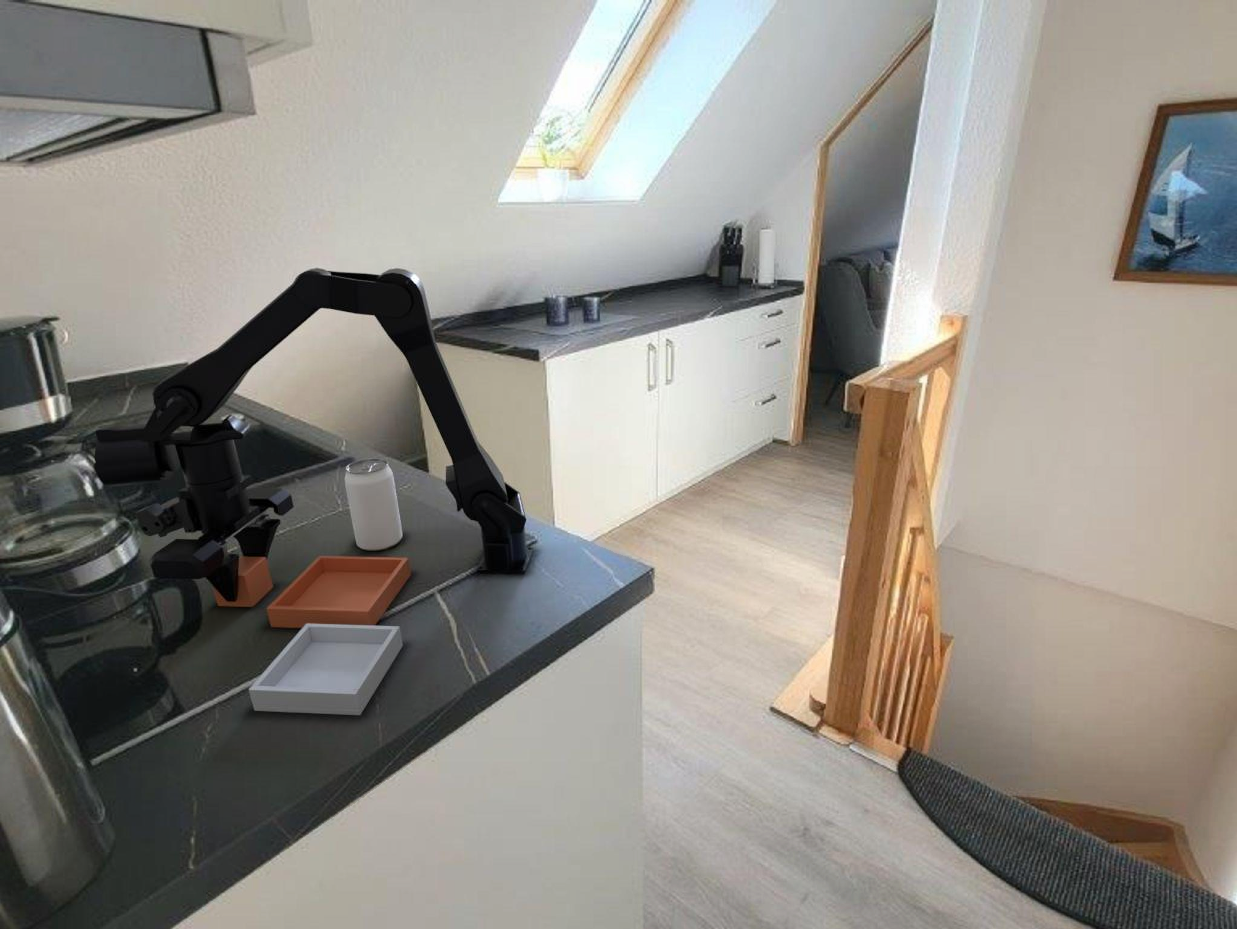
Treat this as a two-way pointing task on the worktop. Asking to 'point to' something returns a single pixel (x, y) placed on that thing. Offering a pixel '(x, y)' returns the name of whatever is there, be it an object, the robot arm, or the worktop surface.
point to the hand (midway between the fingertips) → (244, 589)
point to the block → (249, 582)
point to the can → (373, 504)
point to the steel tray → (327, 669)
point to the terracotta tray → (340, 592)
